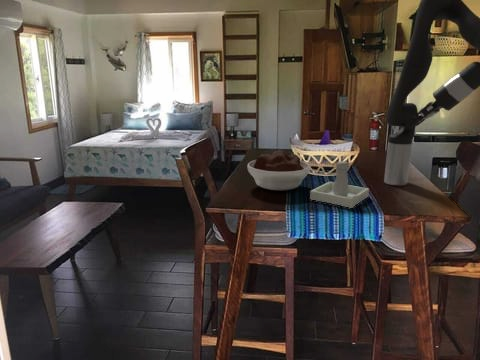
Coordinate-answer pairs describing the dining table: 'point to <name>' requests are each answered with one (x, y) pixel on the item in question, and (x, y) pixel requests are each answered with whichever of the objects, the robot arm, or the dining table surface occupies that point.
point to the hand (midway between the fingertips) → (410, 125)
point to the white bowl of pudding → (278, 171)
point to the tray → (327, 195)
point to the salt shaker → (341, 180)
